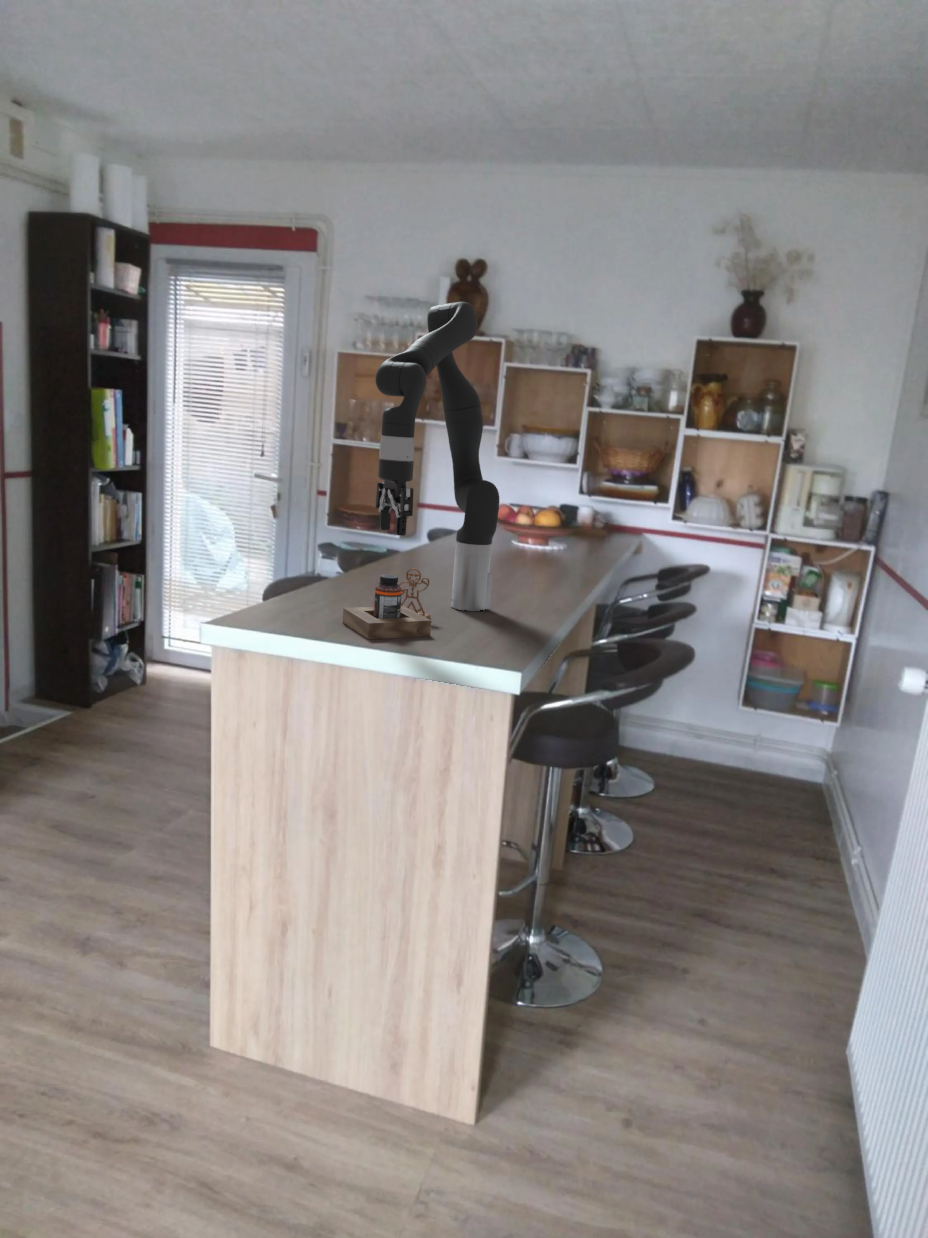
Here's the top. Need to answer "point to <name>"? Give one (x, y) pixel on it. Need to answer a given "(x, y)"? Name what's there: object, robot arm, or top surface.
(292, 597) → the top surface
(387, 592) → the supplement bottle
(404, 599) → the gingerbread man figurine
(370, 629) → the brown wooden square frame
